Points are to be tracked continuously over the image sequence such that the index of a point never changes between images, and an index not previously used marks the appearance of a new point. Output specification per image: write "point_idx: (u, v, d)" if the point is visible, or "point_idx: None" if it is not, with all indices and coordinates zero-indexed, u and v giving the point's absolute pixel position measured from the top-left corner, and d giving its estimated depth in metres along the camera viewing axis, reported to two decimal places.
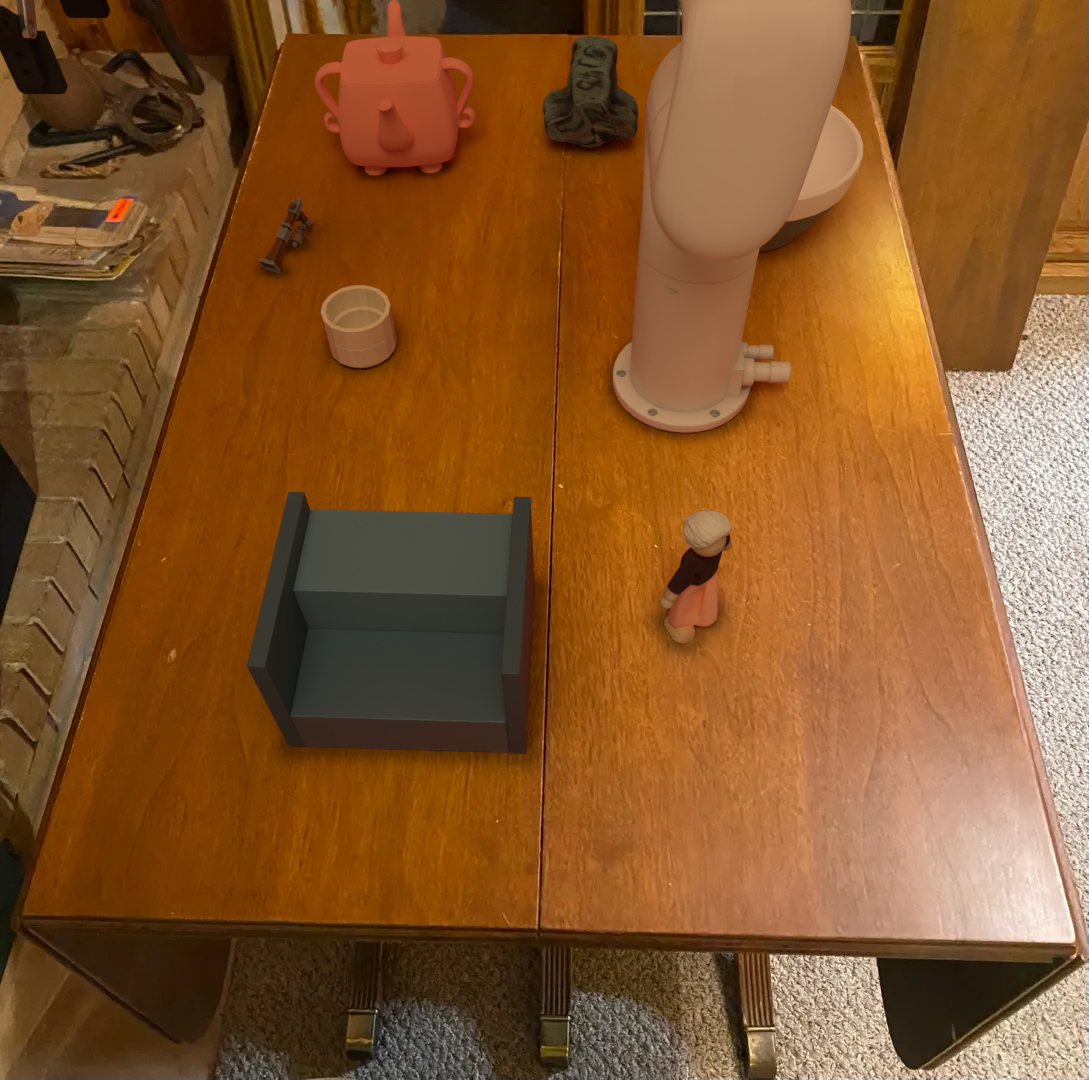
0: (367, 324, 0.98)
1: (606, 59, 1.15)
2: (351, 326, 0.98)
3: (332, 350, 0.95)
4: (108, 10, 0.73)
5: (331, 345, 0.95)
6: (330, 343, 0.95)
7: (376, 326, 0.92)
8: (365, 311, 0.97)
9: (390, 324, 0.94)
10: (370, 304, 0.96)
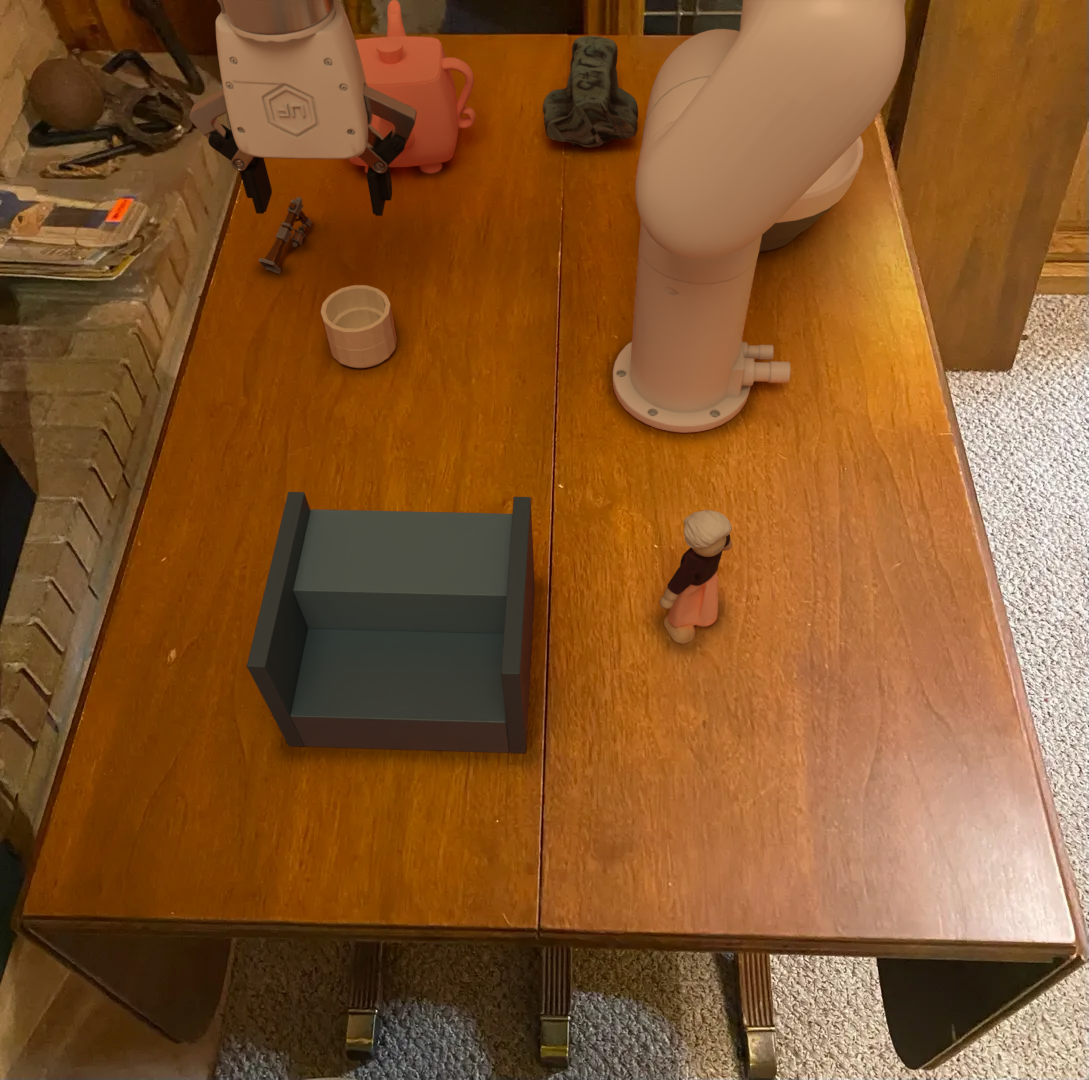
0: (367, 324, 0.98)
1: (606, 59, 1.15)
2: (351, 326, 0.98)
3: (332, 350, 0.95)
4: (376, 213, 0.83)
5: (331, 345, 0.95)
6: (330, 343, 0.95)
7: (376, 326, 0.92)
8: (365, 311, 0.97)
9: (390, 324, 0.94)
10: (370, 304, 0.96)
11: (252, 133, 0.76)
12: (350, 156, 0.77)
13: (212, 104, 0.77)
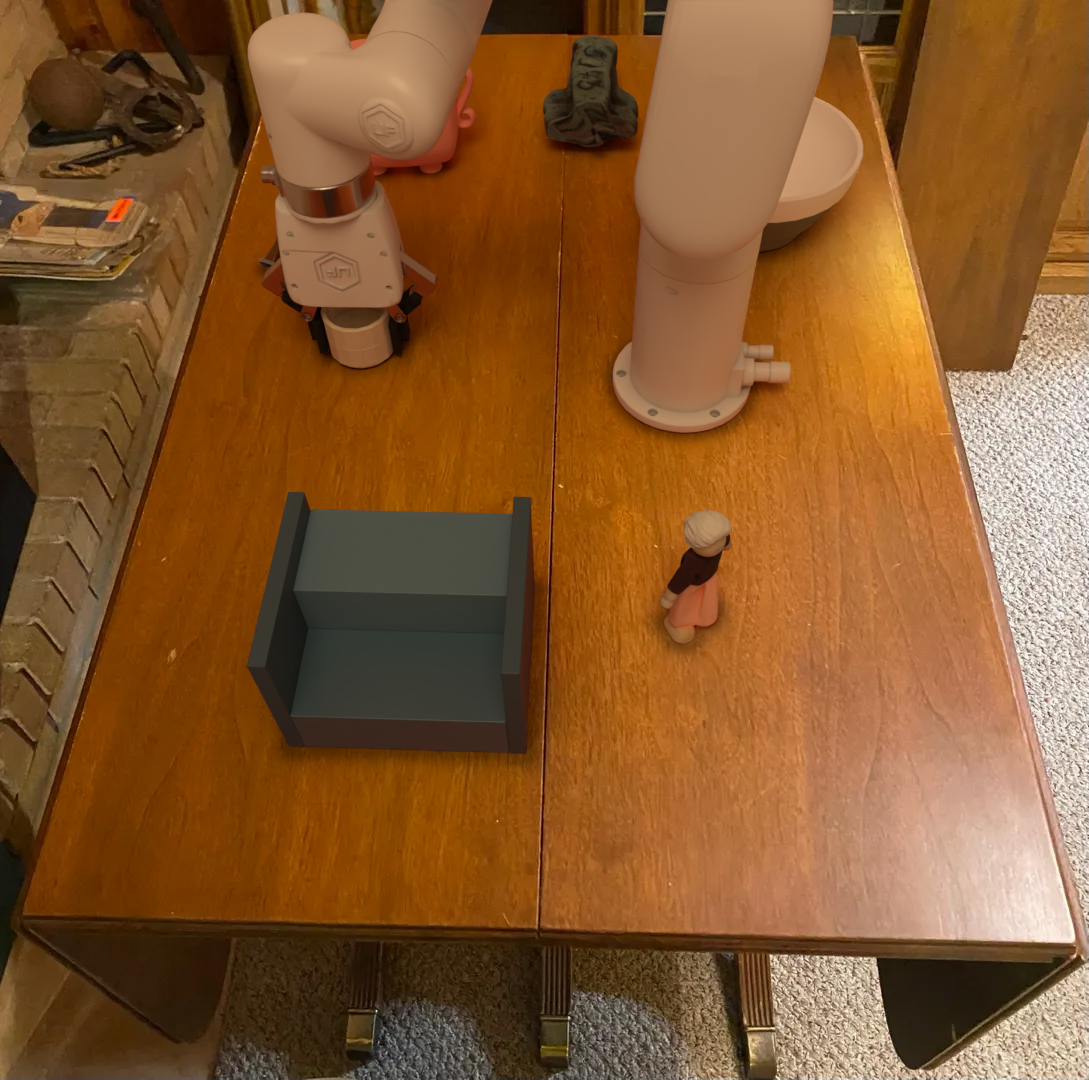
0: (367, 324, 0.98)
1: (606, 59, 1.15)
2: (351, 326, 0.98)
3: (332, 350, 0.95)
4: (397, 353, 0.96)
5: (331, 345, 0.95)
6: (330, 343, 0.95)
7: (376, 326, 0.92)
8: (365, 311, 0.97)
9: None
10: None
11: (304, 288, 0.88)
12: (388, 306, 0.90)
13: (276, 270, 0.90)
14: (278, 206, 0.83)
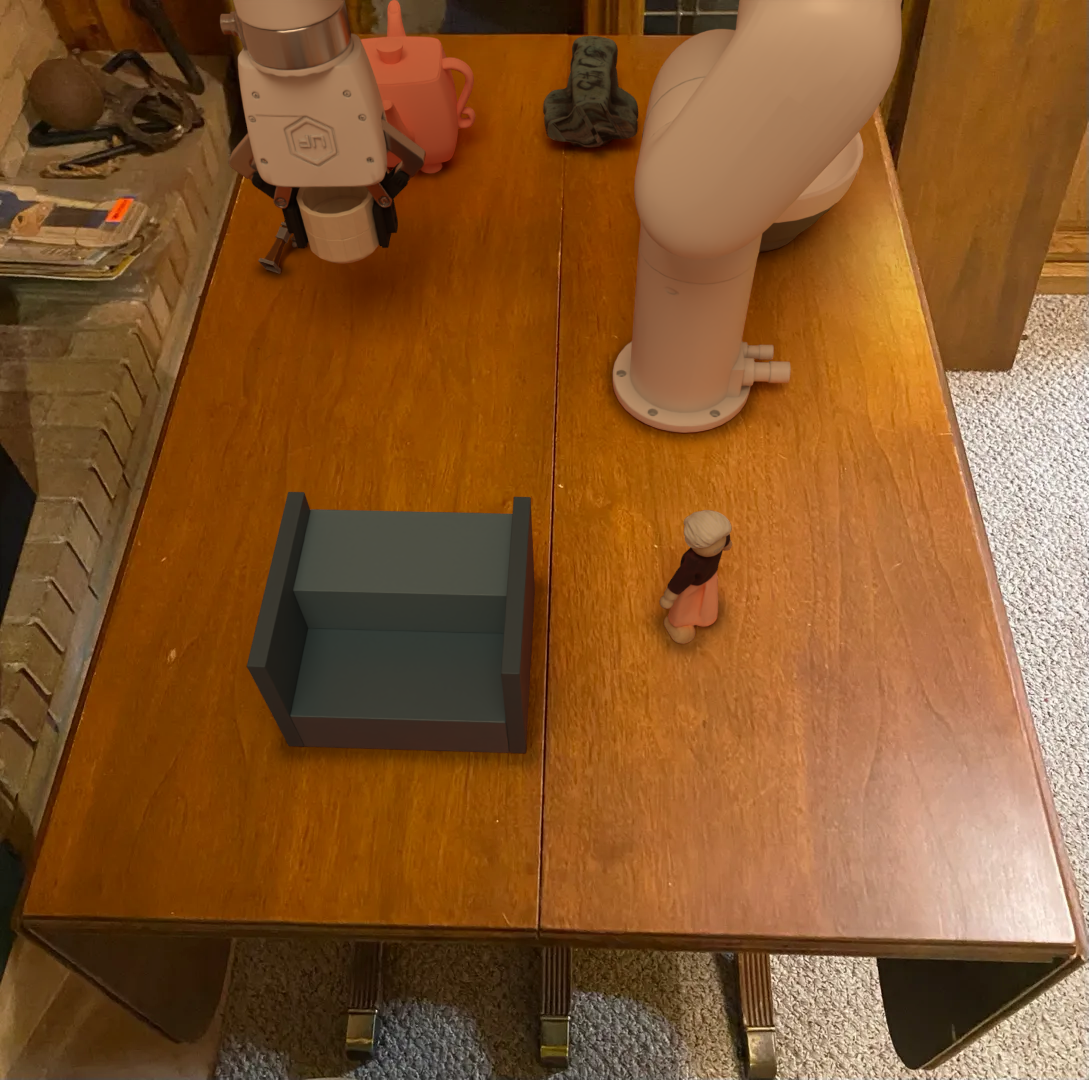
0: None
1: (606, 59, 1.15)
2: None
3: (310, 243, 0.85)
4: (383, 245, 0.86)
5: (309, 237, 0.85)
6: (308, 234, 0.85)
7: (358, 211, 0.82)
8: (347, 201, 0.87)
9: None
10: (353, 193, 0.86)
11: (275, 164, 0.78)
12: (370, 183, 0.79)
13: (244, 146, 0.80)
14: (241, 61, 0.73)
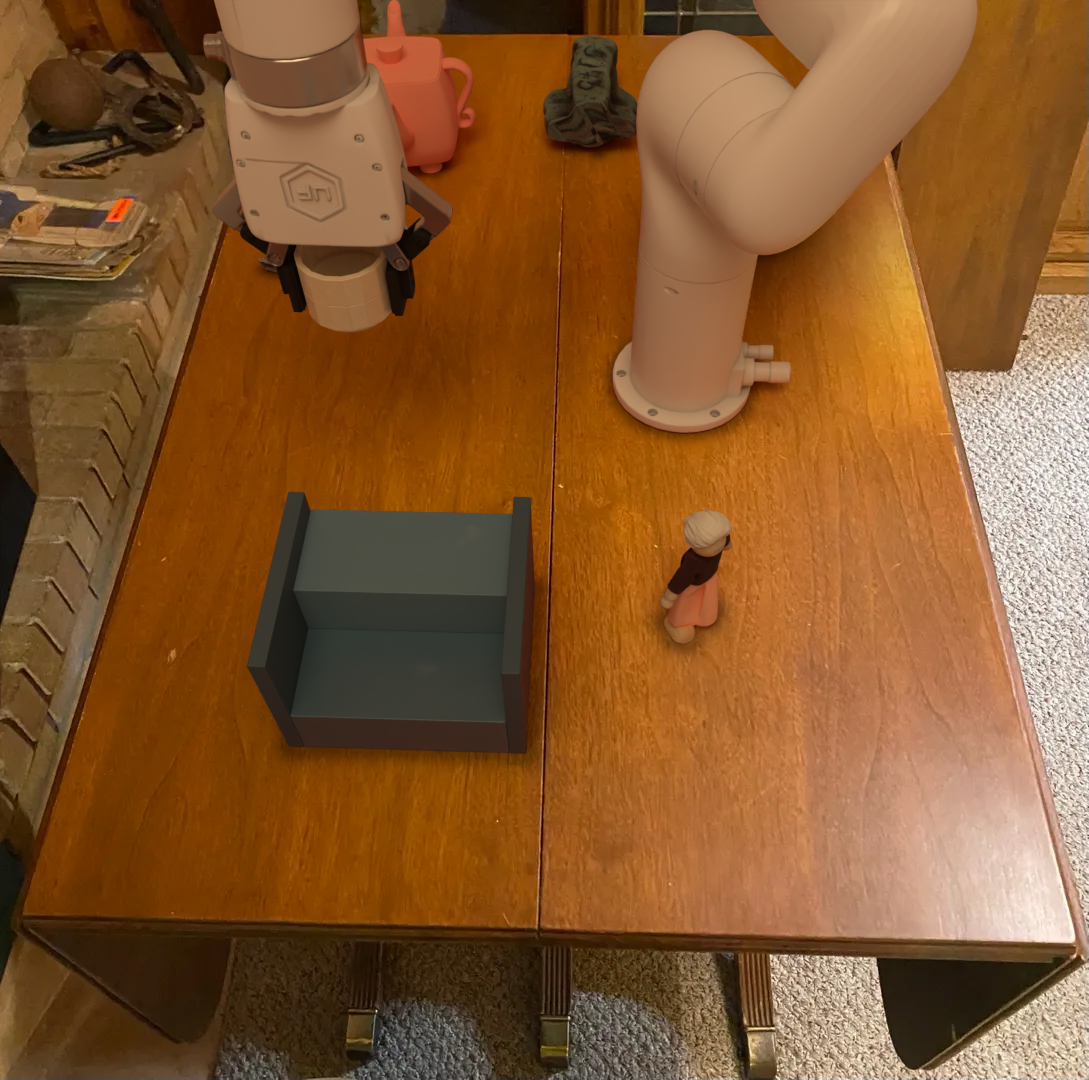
0: None
1: (606, 59, 1.15)
2: None
3: (309, 307, 0.71)
4: (396, 313, 0.71)
5: (308, 300, 0.70)
6: (306, 297, 0.70)
7: (368, 274, 0.68)
8: (356, 257, 0.72)
9: None
10: (362, 247, 0.72)
11: (267, 217, 0.64)
12: (384, 244, 0.65)
13: (231, 192, 0.65)
14: (228, 93, 0.58)
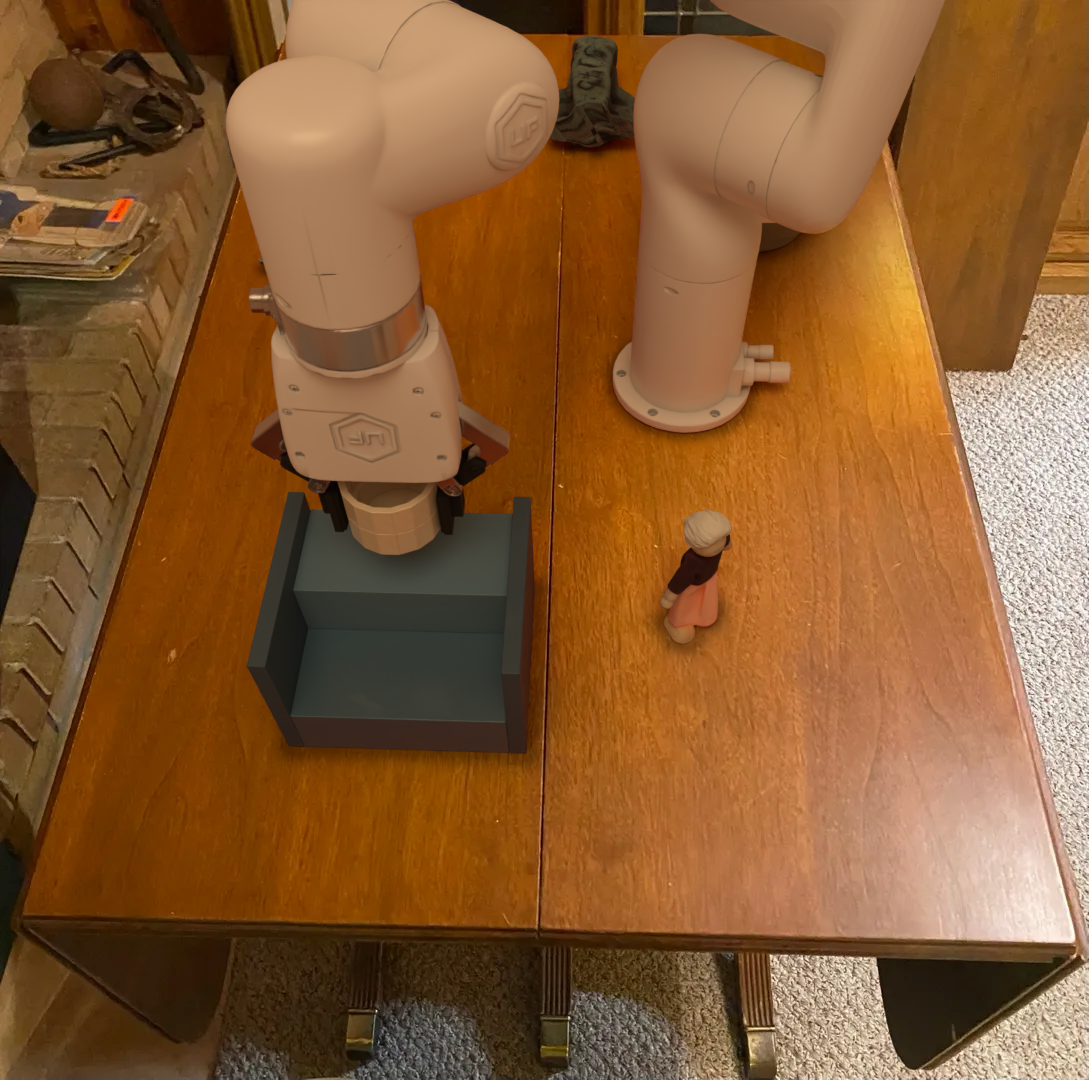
0: (402, 485, 0.69)
1: (606, 59, 1.15)
2: (379, 489, 0.69)
3: (353, 530, 0.66)
4: (446, 532, 0.66)
5: (352, 524, 0.65)
6: (350, 522, 0.65)
7: (419, 503, 0.63)
8: None
9: None
10: None
11: (314, 458, 0.59)
12: (438, 480, 0.60)
13: (273, 427, 0.60)
14: (276, 347, 0.54)
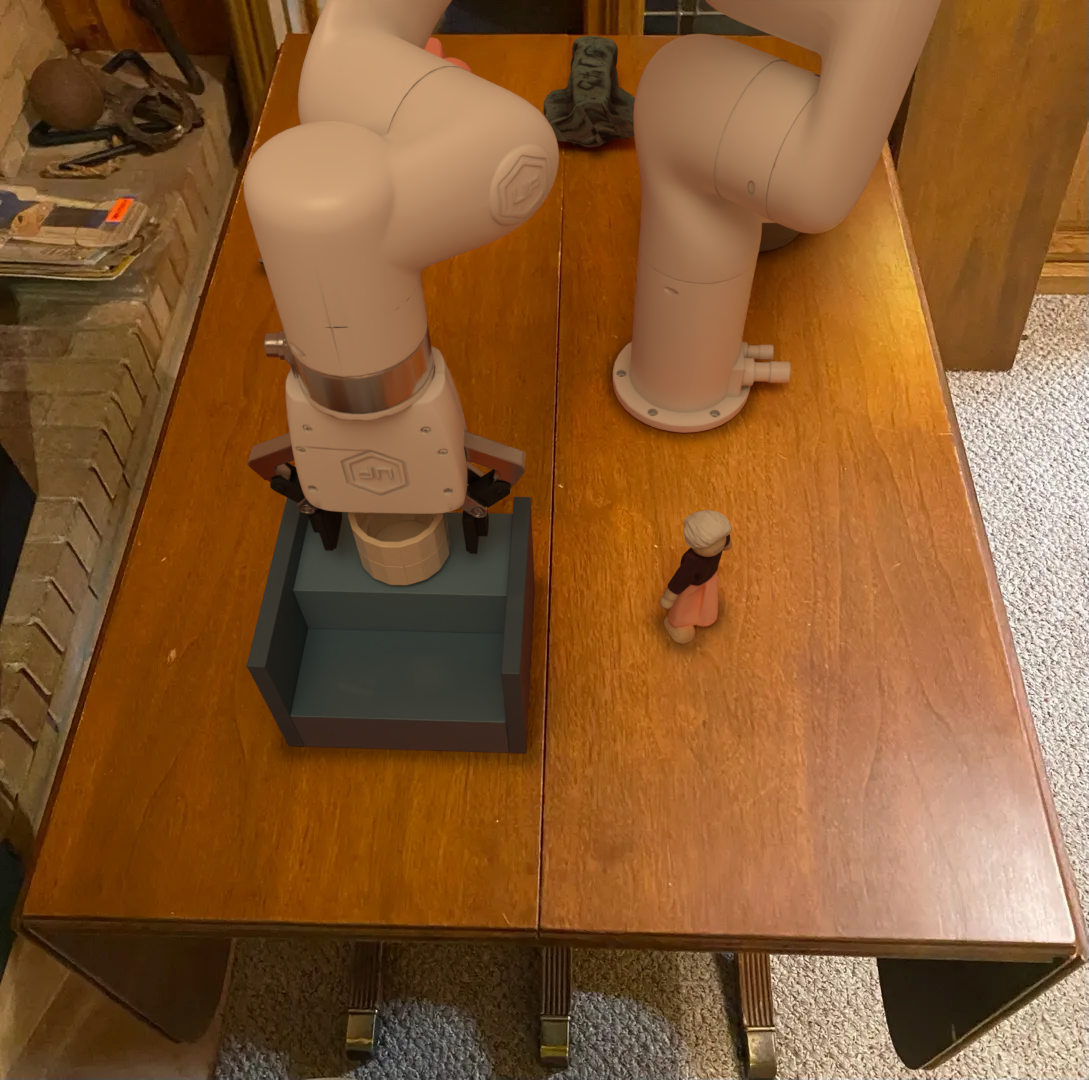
0: (409, 517, 0.72)
1: (606, 59, 1.15)
2: (388, 521, 0.72)
3: (363, 561, 0.69)
4: (471, 552, 0.68)
5: (362, 556, 0.68)
6: (360, 554, 0.68)
7: (426, 537, 0.66)
8: None
9: (444, 529, 0.68)
10: None
11: (326, 491, 0.62)
12: (445, 511, 0.63)
13: (276, 453, 0.62)
14: (290, 390, 0.56)
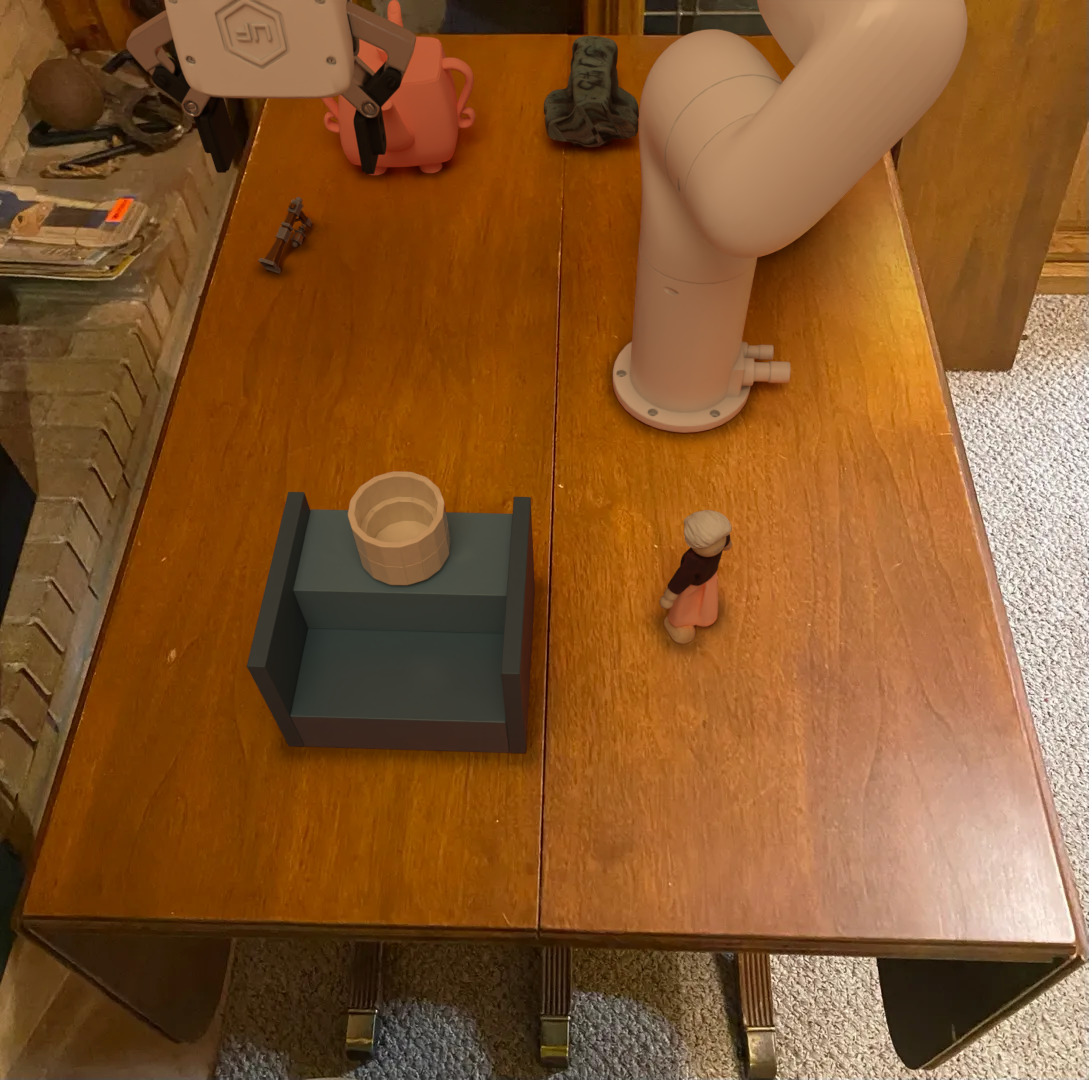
0: (409, 517, 0.72)
1: (606, 59, 1.15)
2: (388, 521, 0.72)
3: (363, 561, 0.69)
4: (367, 170, 0.66)
5: (362, 556, 0.68)
6: (360, 554, 0.68)
7: (426, 537, 0.66)
8: (407, 503, 0.71)
9: (444, 529, 0.68)
10: (414, 494, 0.70)
11: (205, 64, 0.59)
12: (331, 94, 0.61)
13: (154, 28, 0.60)
14: None
